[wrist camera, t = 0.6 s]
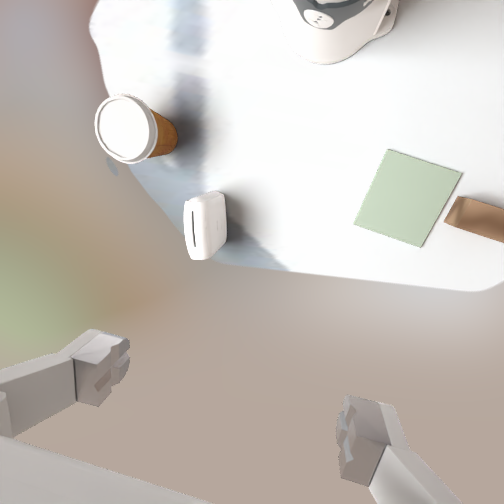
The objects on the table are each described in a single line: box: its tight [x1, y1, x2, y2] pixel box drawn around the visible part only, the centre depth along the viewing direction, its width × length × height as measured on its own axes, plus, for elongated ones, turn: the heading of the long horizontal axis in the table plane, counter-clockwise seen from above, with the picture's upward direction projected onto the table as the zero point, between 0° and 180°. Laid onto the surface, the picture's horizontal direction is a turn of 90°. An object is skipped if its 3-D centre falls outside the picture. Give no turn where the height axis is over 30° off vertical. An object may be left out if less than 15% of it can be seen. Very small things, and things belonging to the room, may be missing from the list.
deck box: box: [444, 196, 504, 243], centre depth 44 cm, size 4×9×4 cm, turn 73°
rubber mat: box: [353, 149, 462, 248], centre depth 47 cm, size 13×12×1 cm
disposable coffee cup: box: [95, 94, 178, 164], centre depth 46 cm, size 10×10×12 cm
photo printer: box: [184, 191, 227, 260], centre depth 49 cm, size 10×4×12 cm, turn 1°
